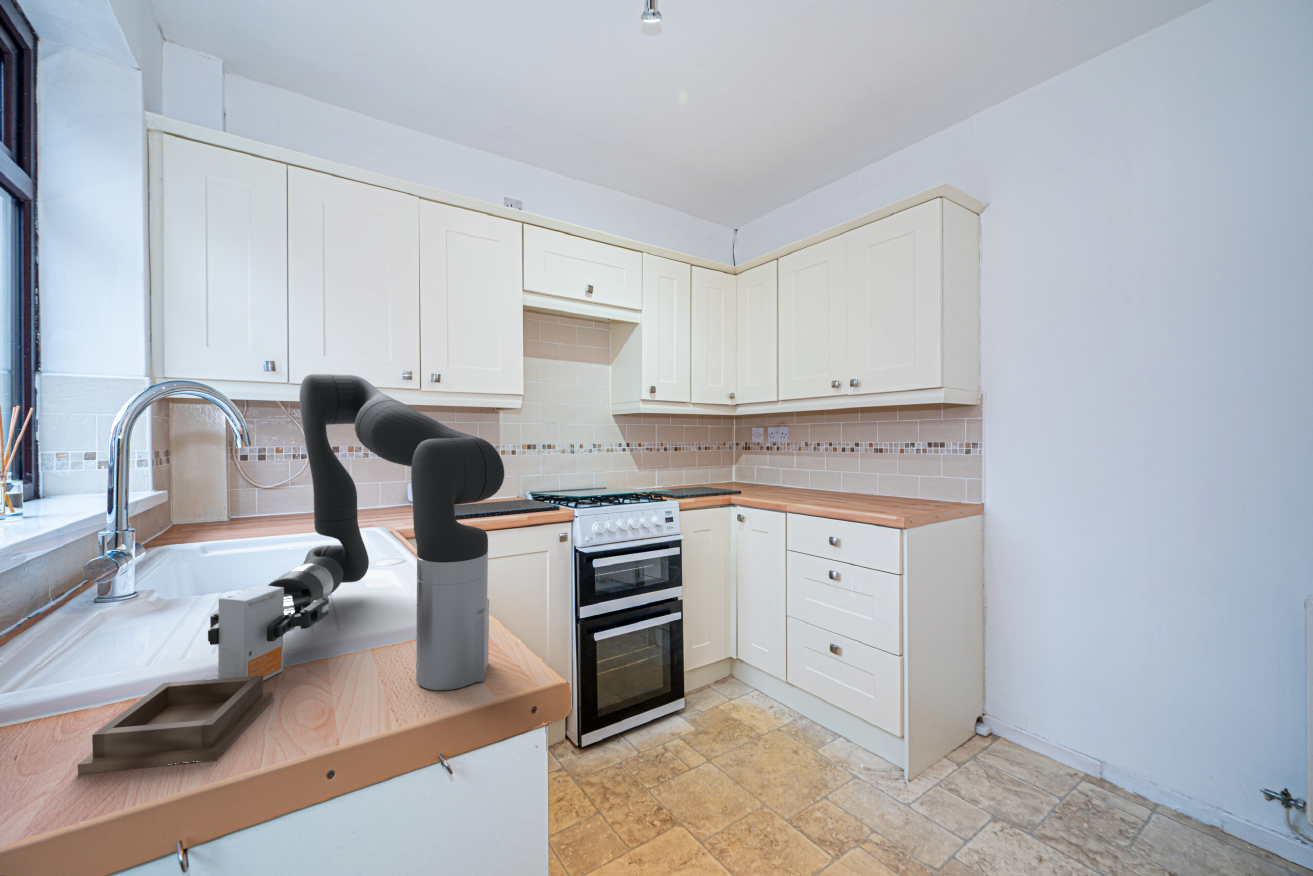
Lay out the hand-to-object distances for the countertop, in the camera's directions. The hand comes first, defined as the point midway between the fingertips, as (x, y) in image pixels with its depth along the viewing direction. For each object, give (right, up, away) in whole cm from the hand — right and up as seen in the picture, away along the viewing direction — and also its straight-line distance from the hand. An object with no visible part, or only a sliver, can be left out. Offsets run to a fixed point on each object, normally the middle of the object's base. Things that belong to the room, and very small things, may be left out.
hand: (242, 635), depth 69 cm
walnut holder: (+1, -7, -9) cm, 12 cm away
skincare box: (-1, -7, +3) cm, 8 cm away
